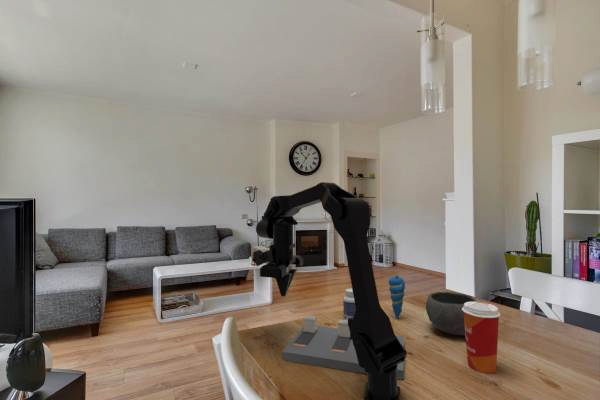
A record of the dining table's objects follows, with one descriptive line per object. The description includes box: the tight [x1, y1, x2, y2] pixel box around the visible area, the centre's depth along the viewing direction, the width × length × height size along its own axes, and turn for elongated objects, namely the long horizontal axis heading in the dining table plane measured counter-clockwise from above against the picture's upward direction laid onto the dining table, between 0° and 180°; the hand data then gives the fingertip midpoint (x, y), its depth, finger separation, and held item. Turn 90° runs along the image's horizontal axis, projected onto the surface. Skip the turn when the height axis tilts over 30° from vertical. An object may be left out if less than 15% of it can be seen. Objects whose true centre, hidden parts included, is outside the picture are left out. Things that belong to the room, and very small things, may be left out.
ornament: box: [388, 273, 406, 319], centre depth 102 cm, size 5×5×15 cm
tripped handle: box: [302, 315, 318, 333], centre depth 87 cm, size 2×3×4 cm
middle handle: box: [337, 319, 350, 338], centre depth 83 cm, size 2×3×4 cm
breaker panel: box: [281, 325, 405, 381], centre depth 79 cm, size 18×28×2 cm, turn 71°
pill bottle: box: [342, 288, 356, 320], centre depth 100 cm, size 5×5×10 cm
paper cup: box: [462, 301, 501, 374], centre depth 71 cm, size 8×8×14 cm
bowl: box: [425, 291, 479, 336], centre depth 91 cm, size 15×15×10 cm
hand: (283, 296), depth 87 cm, fingers closed
